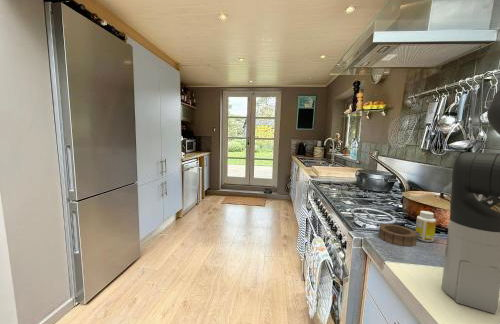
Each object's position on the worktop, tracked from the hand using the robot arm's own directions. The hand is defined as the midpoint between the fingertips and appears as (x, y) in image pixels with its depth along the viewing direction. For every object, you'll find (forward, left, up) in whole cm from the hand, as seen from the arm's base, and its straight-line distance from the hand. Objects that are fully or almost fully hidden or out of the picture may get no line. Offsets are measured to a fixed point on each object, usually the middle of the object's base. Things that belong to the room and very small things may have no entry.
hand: (460, 208), depth 77 cm
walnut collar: (-7, +18, -13) cm, 24 cm away
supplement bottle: (-1, +9, -14) cm, 16 cm away
